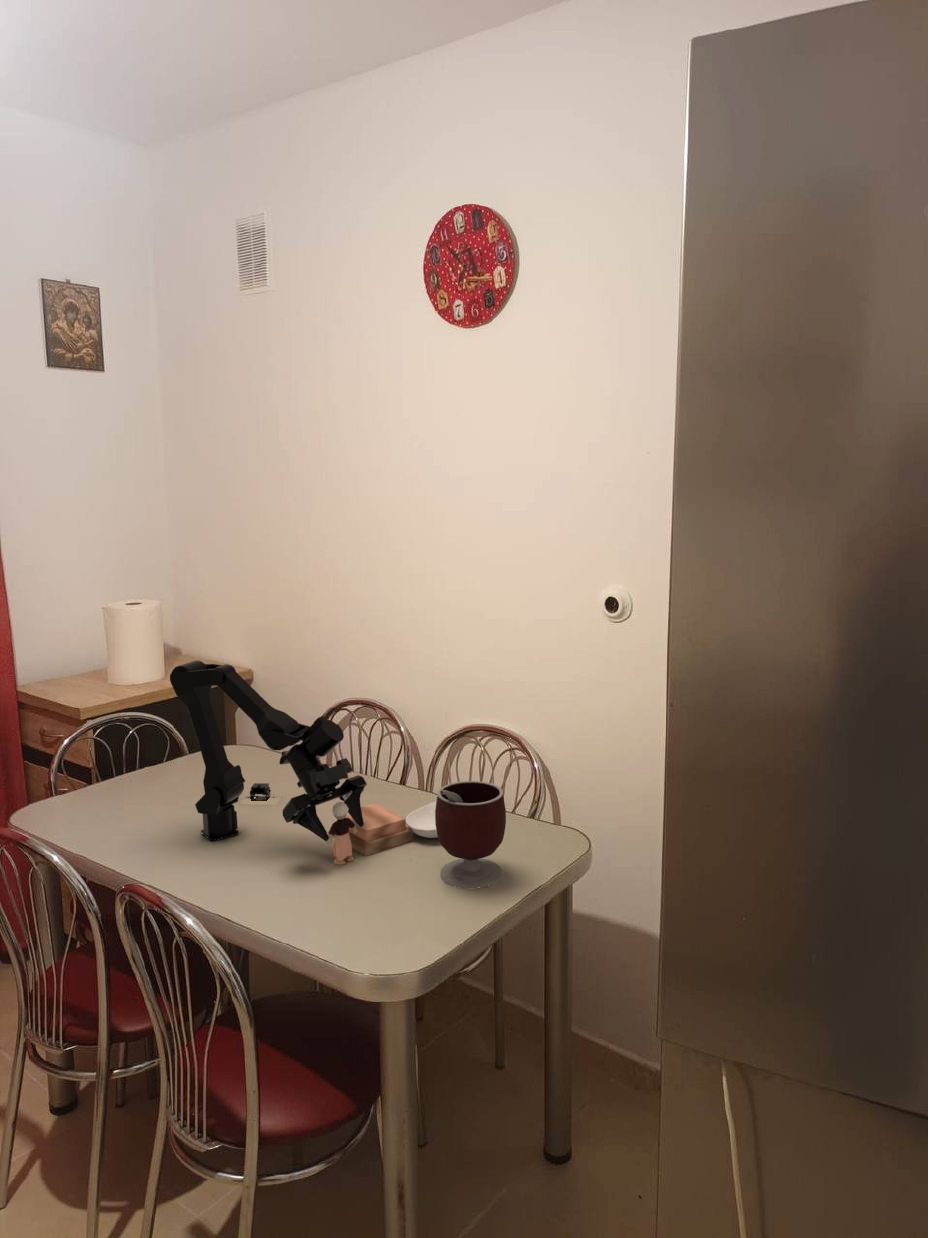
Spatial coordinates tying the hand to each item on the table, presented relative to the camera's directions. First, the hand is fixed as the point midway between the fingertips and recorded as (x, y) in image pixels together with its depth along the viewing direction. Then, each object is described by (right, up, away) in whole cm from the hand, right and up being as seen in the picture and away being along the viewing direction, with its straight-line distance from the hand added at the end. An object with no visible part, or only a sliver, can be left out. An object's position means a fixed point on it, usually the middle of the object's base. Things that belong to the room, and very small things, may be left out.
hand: (345, 833), depth 175 cm
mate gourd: (+25, -7, -5) cm, 27 cm away
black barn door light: (-26, -2, +37) cm, 45 cm away
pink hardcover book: (+4, -4, +13) cm, 15 cm away
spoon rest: (+21, -3, +19) cm, 29 cm away
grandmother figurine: (-1, -7, +2) cm, 7 cm away
